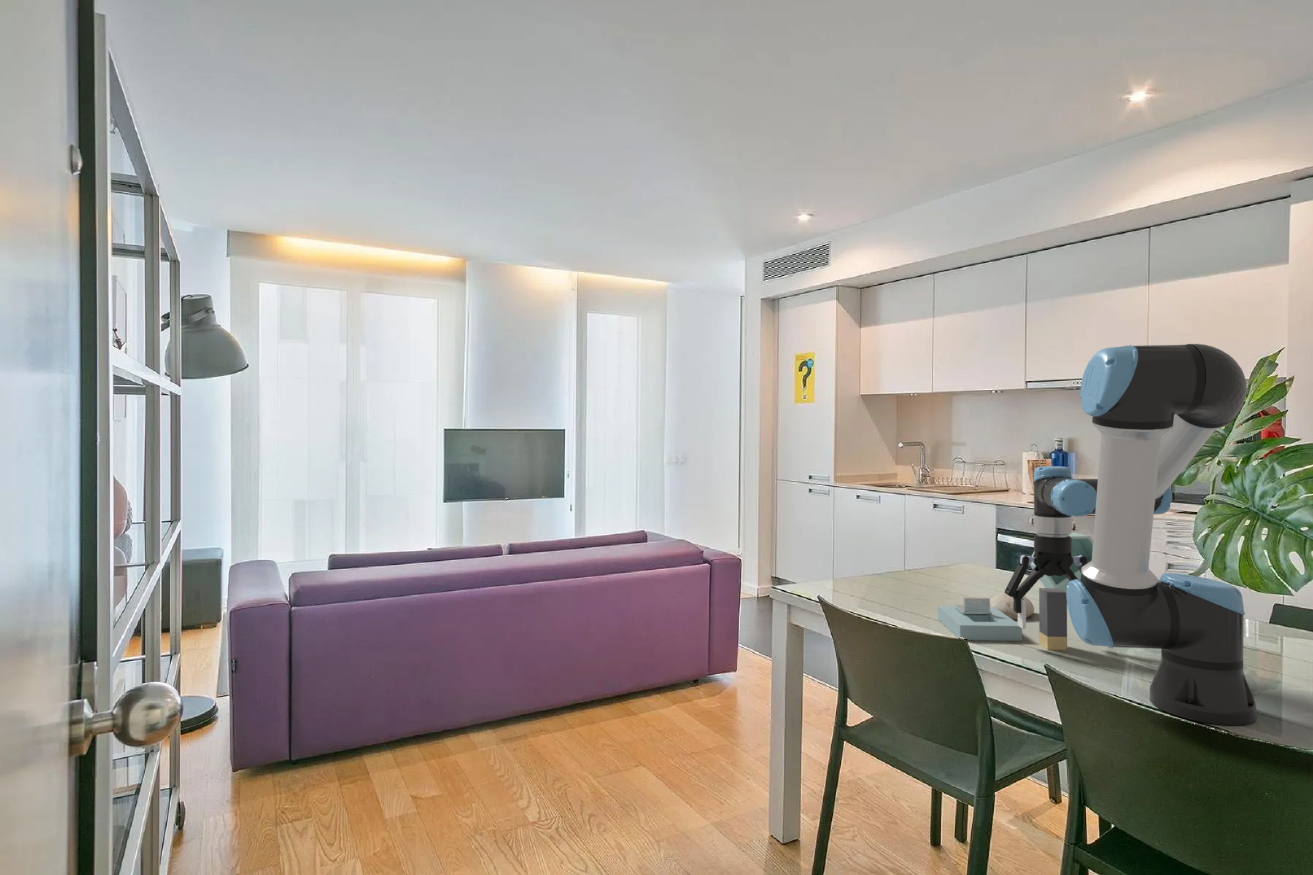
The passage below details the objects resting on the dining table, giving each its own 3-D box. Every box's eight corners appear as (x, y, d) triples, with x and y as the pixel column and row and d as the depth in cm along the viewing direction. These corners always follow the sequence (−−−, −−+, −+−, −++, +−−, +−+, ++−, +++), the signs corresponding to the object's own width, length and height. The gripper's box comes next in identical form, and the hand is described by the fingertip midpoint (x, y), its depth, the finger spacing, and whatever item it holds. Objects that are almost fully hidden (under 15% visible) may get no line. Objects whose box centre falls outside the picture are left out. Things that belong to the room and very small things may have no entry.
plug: (1067, 650, 161) (1066, 592, 161) (1047, 649, 162) (1047, 592, 162) (1058, 644, 166) (1058, 588, 165) (1039, 644, 166) (1039, 588, 166)
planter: (1070, 610, 212) (1031, 552, 212) (1056, 604, 220) (1018, 548, 219) (1118, 578, 212) (1079, 520, 211) (1102, 573, 220) (1064, 517, 219)
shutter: (991, 614, 178) (991, 598, 178) (963, 613, 179) (963, 598, 179) (981, 607, 185) (981, 592, 185) (954, 606, 186) (954, 592, 185)
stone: (1006, 637, 187) (1023, 616, 183) (975, 610, 193) (990, 589, 189) (1030, 624, 195) (1046, 603, 191) (999, 598, 201) (1014, 577, 197)
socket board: (1022, 640, 169) (1022, 625, 169) (960, 639, 170) (960, 625, 170) (993, 620, 187) (993, 606, 187) (937, 619, 188) (937, 606, 188)
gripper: (1101, 531, 166) (1102, 623, 166) (989, 531, 168) (990, 622, 169) (1119, 537, 158) (1119, 632, 159) (1001, 537, 161) (1002, 631, 161)
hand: (1052, 627), depth 164 cm, fingers open, 13 cm apart
